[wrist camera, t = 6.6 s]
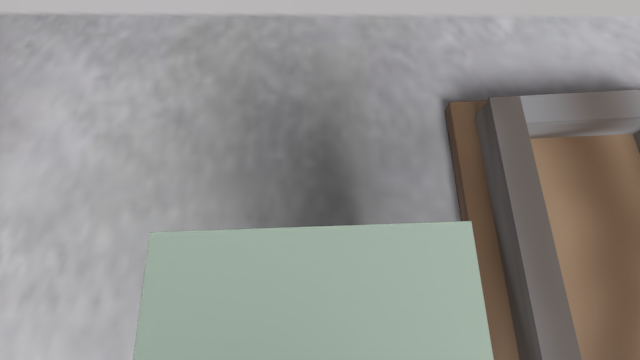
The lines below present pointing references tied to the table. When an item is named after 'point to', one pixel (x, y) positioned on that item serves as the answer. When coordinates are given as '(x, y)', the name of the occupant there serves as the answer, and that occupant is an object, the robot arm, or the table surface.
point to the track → (554, 220)
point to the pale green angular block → (314, 294)
